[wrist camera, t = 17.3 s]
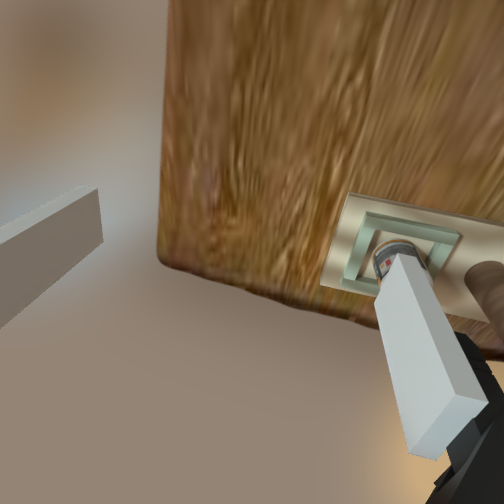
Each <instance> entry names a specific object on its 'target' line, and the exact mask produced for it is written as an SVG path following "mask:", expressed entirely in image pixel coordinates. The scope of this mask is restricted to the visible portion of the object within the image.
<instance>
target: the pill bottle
mask: <svg viewBox="0 0 504 504" xmlns="http://www.w3.org/2000/svg"><path fill="white" fill-rule="evenodd" d="M397 253H400V254H405V255H409V256H414V257H416V258H417V260H418V262H419V264H420V266H421V268H422V270H423V272H424V274H425V276H426V278H427V280H428V282H429V284H430V286H431V288H432V290H433V279H432V276H431V275H430V272H429V271H428V269H427V267H426V265H425V263H424V262H423V260H422V258H421V256H420V254H419V252H418V250H417V249H416V247H415V246H414V245H413V244H412V243H411V242H409V241H408V240H405V239H401V238H393V239H388V240H386V241H384V242H382V243H380V244H379V245H378V246H377V247H376V248H375V250H374V251H373V254H372V264H373V268H374V271H375V275H376V278H377V281H378V285H379V288H380V290H381V287H382V285H383V283H384V281H385V279H386V276H387V274H388V272H389V270H390V268H391V266H392V263H393V261H394V259H395V257H396V255H397ZM433 292H434V291H433ZM434 294H435V293H434ZM435 296H436V295H435Z"/></svg>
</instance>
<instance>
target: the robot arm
mask: <svg viewBox="0 0 504 504" xmlns="http://www.w3.org/2000/svg"><path fill="white" fill-rule="evenodd" d="M101 243H103V233H102V224H101V215H100V206H99V199H98V189H97V188H93V187H89V186H84V185H80V186H78V187H76V188H74V189H72V190H70V191H68V192H67V193H65V194H63V195H61V196H59V197H57V198H55V199H53V200H51V201H49V202H48V203H45V204H44V205H42V206H40V207H38V208H36V209H34V210H32V211H30V212H28V213H26V214H25V215H23V216H21V217H19V218H17V219H15V220H13V221H11V222H9V223H7V224H5V225H4V226H2V227H0V329H1V328H2V327H3V326H4V325H5V324H6V323H8V322H9V321H10V320H11V319H12V318H14V316H16V315H17V314H18V313H20V312H21V311H22V310H23V309H24V308H25V307H27V306H28V305H29V304H30V303H31V302H33V301H34V300H35V299H36V298H37V297H39V296H40V295H41V294H42V293H43V292H44V291H46V290H47V289H48V288H49V287H50V286H51V285H52V284H54V283H55V282H56V281H58V280H59V279H60V278H61V277H62V276H63V275H65V274H66V273H67V272H68V271H69V270H71V269H72V268H73V267H74V266H75V265H76V264H78V263H79V262H80V261H81V260H82V259H84V258H85V257H86V256H87V255H88V254H90V253H91V252H92V251H93V250H94V249H95V248H96V247H98V246H99V245H100V244H101ZM374 305H375V310H376V314H377V318H378V323H379V327H380V331H381V335H382V340H383V344H384V348H385V353H386V357H387V362H388V366H389V370H390V375H391V379H392V383H393V388H394V392H395V396H396V401H397V405H398V410H399V414H400V418H401V423H402V427H403V431H404V435H405V440H406V444H407V448H408V453H409V454H412V455H416V456H420V457H424V458H428V459H432V460H435V461H436V460H437V459H438V458H439V457H440V456H441V455H442V454H443V453H444V451H445V450H446V449H447V452H448V455H449V459H450V461H451V466H449V468H448V469H447V470H446V471H445V472H444V473H443V474H442V475H441V476H440V477H439V478H438V479H437V480H436V481H435V482H434V484H435V485H436V487H435V489H434V490H433V492H432V494H431V495H430V497H429V499H428V500H427V502H426V503H425V504H504V393H503V391H502V389H501V388H500V386H499V384H498V382H497V380H496V378H495V377H494V375H492V371H491V370H490V368H489V366H488V364H487V363H485V362H486V360H485V359H484V357H483V355H482V353H481V351H480V350H479V348H478V347H477V346H476V345H475V344H474V343H473V341H472V340H471V339H470V338H469V337H468V336H467V335H466V334H463V333H459V332H454V331H453V330H452V328H451V326H450V324H449V322H448V320H447V318H446V316H445V314H444V312H443V310H442V308H441V306H440V304H439V302H438V300H437V298H436V296H435V294H434V292H433V290H432V288H431V286H430V284H429V282H428V280H427V278H426V276H425V274H424V272H423V270H422V268H421V266H420V264H419V262H418V260H417V258H416V257H414V256H409V255H405V254H400V253H397V255H396V257H395V259H394V261H393V263H392V266H391V268H390V270H389V272H388V274H387V276H386V279H385V281H384V283H383V285H382V287H381V290H380V292H379V294H378V296H377V298H376V300H375V303H374Z"/></svg>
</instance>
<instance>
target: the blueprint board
mask: <svg viewBox="0 0 504 504" xmlns="http://www.w3.org/2000/svg"><path fill="white" fill-rule="evenodd" d="M393 238H401V239H405V240H408V241H409V242H411V243H412V244H413V245H414V246H415V247H416V249H417V250H418V252H419V254H420V256H421V258H422V260H423V262H424V263H425V265H426V267H427V269H428V271H429V272H430V275H431V276H432V279H433V291H434V293H435V295H436V298H437V300H438V302H439V304H440V306H441V308H442V310H443V312H444V313H447V314H452V315H456V316H461V317H465V318H469V319H474V320H478V321H483V322H487V323H491V324H492V326H493V327H494V329H495V330H496V332H497V334H498V335H499V337H500V338H501V340H502V341H503V342H504V223H500V222H496V221H491V220H486V219H481V218H476V217H471V216H466V215H461V214H456V213H451V212H446V211H442V210H437V209H432V208H427V207H422V206H417V205H412V204H407V203H402V202H397V201H392V200H387V199H383V198H378V197H373V196H368V195H363V194H358V193H353V192H348V195H347V198H346V201H345V204H344V207H343V210H342V213H341V216H340V219H339V222H338V225H337V228H336V231H335V235H334V238H333V241H332V244H331V247H330V250H329V253H328V256H327V259H326V262H325V265H324V268H323V271H322V274H321V278H320V285H323V286H328V287H332V288H337V289H341V290H345V291H350V292H354V293H359V294H363V295H368V296H372V297H376V298H377V296H378V294H379V292H380V288H379V285H378V281H377V278H376V275H375V271H374V268H373V264H372V254H373V251H374V250H375V248H376V247H377V246H378V245H379V244H380V243H382V242H384V241H386V240H388V239H393Z"/></svg>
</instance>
